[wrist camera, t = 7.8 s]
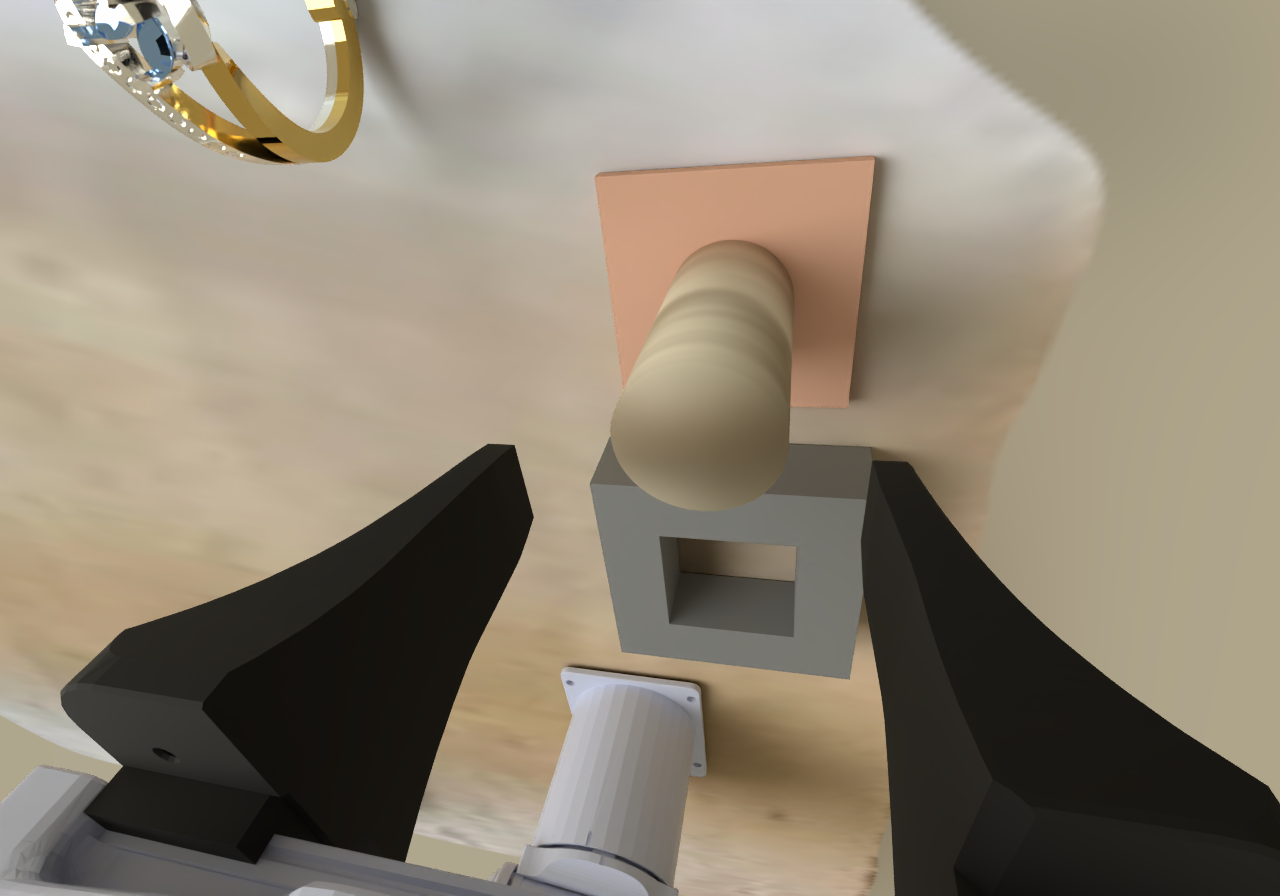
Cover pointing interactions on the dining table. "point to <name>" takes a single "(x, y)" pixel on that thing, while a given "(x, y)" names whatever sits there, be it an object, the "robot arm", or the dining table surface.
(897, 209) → the dining table surface
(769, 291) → the peg
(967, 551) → the robot arm
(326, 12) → the ring
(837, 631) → the pocket block
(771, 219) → the pad
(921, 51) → the dining table surface
